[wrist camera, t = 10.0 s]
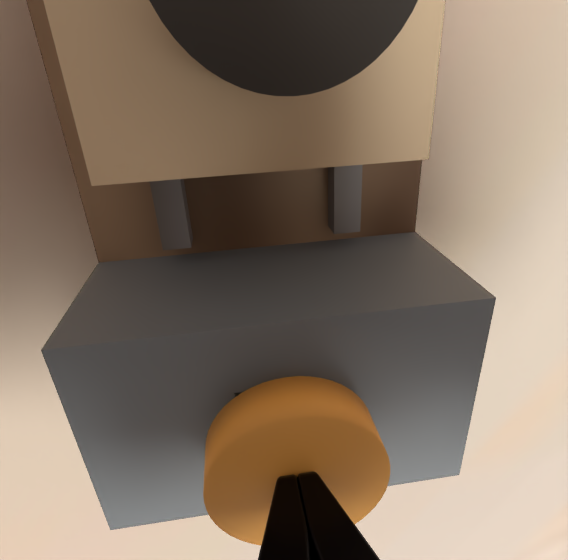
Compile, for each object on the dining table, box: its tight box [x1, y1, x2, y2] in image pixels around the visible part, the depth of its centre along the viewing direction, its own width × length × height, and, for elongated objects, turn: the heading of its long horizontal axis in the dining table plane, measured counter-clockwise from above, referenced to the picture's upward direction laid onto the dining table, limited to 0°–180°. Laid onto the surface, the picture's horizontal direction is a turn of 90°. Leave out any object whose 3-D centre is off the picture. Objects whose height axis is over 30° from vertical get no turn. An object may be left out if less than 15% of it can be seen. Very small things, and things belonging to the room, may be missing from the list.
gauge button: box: [203, 376, 390, 545], centre depth 11 cm, size 4×4×4 cm
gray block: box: [41, 232, 496, 530], centre depth 13 cm, size 10×6×6 cm, turn 93°
